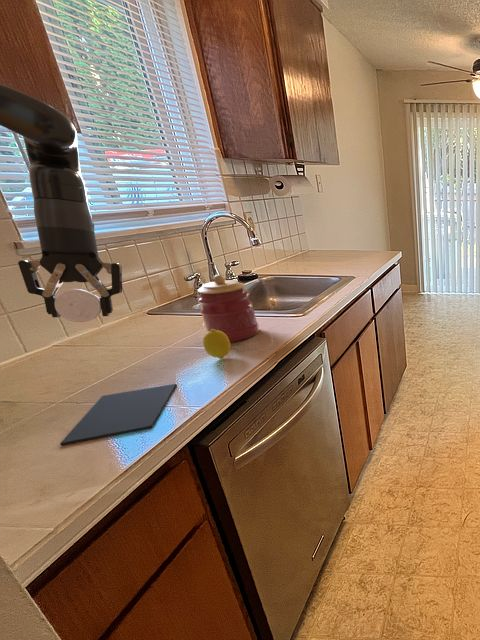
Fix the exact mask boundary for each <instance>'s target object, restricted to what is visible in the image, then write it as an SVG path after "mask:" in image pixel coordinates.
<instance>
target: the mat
mask: <svg viewBox="0 0 480 640" xmlns="http://www.w3.org/2000/svg"><path fill="white" fill-rule="evenodd" d="M176 387H177V383H172V384H165V385H159V386H154V387H147V388H141V389H136V390H129V391H123V392H117V393H111V394H106V395H105V394H104V395H102V396H101V397H100V398H99V399H98V400H97V401H96V402H95V404H94V405H93V406H91V408H90V409H89V410H88V411H87V413H86V414H85V415H84V416H83V417H82V418H81V420H80V421H78V422H77V424H76V425H75V426H74V427H73V428H72V429H71V430H70V431H69V433H68V434H67V435H66V436H65V437H64V438H63V439H62V441H60V443H59V444H60V446H65V445H66V446H67V445H70V444H77V443H82V442H87V441H92V440H97V439H102V438H107V437H112V436H113V437H114V436H118V435H123V434H127V433H132V432H138V431H143V430H149V429H153V427H154V426H155V424H156V422H157V421H158V419H159V417H160V416H161V414H162V412H163V410H164V409H165V407H166V405H167V403H168V402H169V400H170V399H171V396H172V395H173V393H174V392H175V390H176Z"/></svg>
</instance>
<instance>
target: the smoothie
mask: <svg viewBox="0 0 480 640" xmlns="http://www.w3.org/2000/svg"><path fill="white" fill-rule="evenodd" d="M55 297H56V299H55V309H56V311H57V312H58V313H59V314H60V315H61V318H64V319H65V320H67V321H70V322H73V323H87V322H90V321H92V320H95V319H96V318H97V317H98V316H100V314H101V313H102V309H101V304H100V297H99V296H98V295H96V294H94V293H92V292H90V291H89V290H86V289H81V288H71V289H70V288H69V289H67V290H64V291H61V292H60V293H59V294H58V295H57V296H55Z"/></svg>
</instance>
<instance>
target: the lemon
mask: <svg viewBox="0 0 480 640" xmlns="http://www.w3.org/2000/svg"><path fill="white" fill-rule="evenodd" d="M202 343H203V346H204V350H205V352H206V353H207V355H208V356H211V357H213V358H217V359H219V360H224V358H225V357H226V356H227V355H228V354H229V353H230V351H231V348H232V347H231V346H232V345H231V342H230V340H229V338H228V337H227V335H226V334H225V333H224V332H222V331H219V330H215V329H211V331H209V332H208V333H207V332H206V333H205V334H204V336H203V342H202Z"/></svg>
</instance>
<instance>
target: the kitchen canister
mask: <svg viewBox="0 0 480 640" xmlns="http://www.w3.org/2000/svg"><path fill="white" fill-rule="evenodd" d="M197 293H199V295H198V297H197V298H196V302H197V303H199V305H200V311H199V312H200V314H201V316H202V320H203V322H204V325H205V328H206V333H208V332H209V331H211V329H215V330H219V331H222V332H224V333H225V334H226V335H227V337H228V338H229V340H230V343H232V342H233V343H234V342H238V341H243V340H246V339H250V338H251V337H254V336H255V335H257V334H258V333H259V326H260V325H259V322H258V321H257V317H256V314H255V310H254V304H253V302H252V301H251V299H250V295H251V292H250V291H249V290H247V289H245V284H244V283H242V282H240V281H238V280H236V279H225V277H224V276H223V275H222V274H215V275H214V276H213V281H210V282H206V283H203V284H202V285H201V287H199V288H198V289H197Z"/></svg>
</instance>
